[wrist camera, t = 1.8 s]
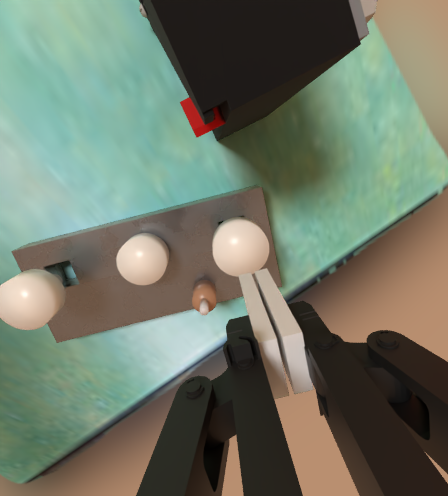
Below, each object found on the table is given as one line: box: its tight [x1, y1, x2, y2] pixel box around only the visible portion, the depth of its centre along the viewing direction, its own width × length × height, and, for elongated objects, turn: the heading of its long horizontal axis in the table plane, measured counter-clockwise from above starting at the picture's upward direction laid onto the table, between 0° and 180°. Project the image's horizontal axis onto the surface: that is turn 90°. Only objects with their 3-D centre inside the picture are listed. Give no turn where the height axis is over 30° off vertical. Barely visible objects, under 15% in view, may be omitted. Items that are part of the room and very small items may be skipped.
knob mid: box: [116, 233, 169, 285], centre depth 32 cm, size 5×5×6 cm
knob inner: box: [0, 269, 66, 330], centre depth 28 cm, size 5×5×6 cm
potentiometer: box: [192, 280, 216, 315], centre depth 31 cm, size 3×3×5 cm
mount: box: [12, 185, 282, 343], centre depth 34 cm, size 28×12×3 cm, turn 104°
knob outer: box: [212, 217, 269, 277], centre depth 28 cm, size 5×5×6 cm
